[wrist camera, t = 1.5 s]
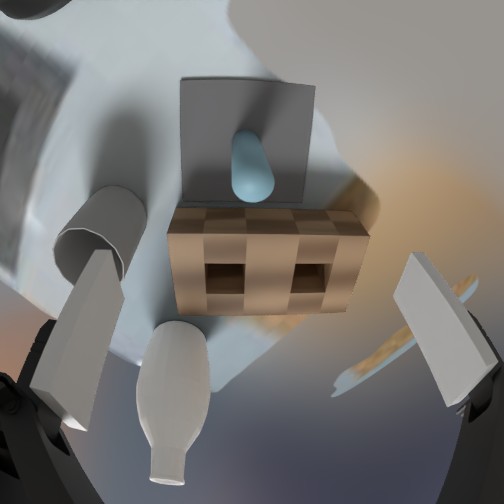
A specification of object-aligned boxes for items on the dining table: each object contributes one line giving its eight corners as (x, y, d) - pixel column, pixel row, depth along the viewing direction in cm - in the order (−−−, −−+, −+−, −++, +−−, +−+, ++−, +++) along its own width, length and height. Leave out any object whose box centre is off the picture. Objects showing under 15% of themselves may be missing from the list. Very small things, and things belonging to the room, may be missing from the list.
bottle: (155, 354, 51) (139, 483, 30) (140, 314, 44) (110, 467, 23) (214, 355, 51) (214, 490, 30) (208, 314, 45) (205, 477, 24)
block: (175, 207, 34) (166, 233, 29) (352, 211, 36) (370, 236, 31) (183, 284, 41) (178, 314, 36) (333, 283, 43) (345, 312, 38)
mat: (180, 80, 26) (180, 80, 26) (314, 85, 27) (315, 86, 27) (183, 200, 34) (183, 201, 34) (301, 201, 35) (301, 202, 35)
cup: (124, 173, 31) (90, 213, 23) (159, 227, 36) (140, 279, 28) (76, 205, 33) (39, 248, 24) (110, 252, 37) (86, 302, 29)
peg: (231, 129, 29) (232, 162, 19) (260, 130, 29) (276, 163, 20) (231, 155, 31) (231, 202, 21) (258, 156, 31) (272, 203, 21)
